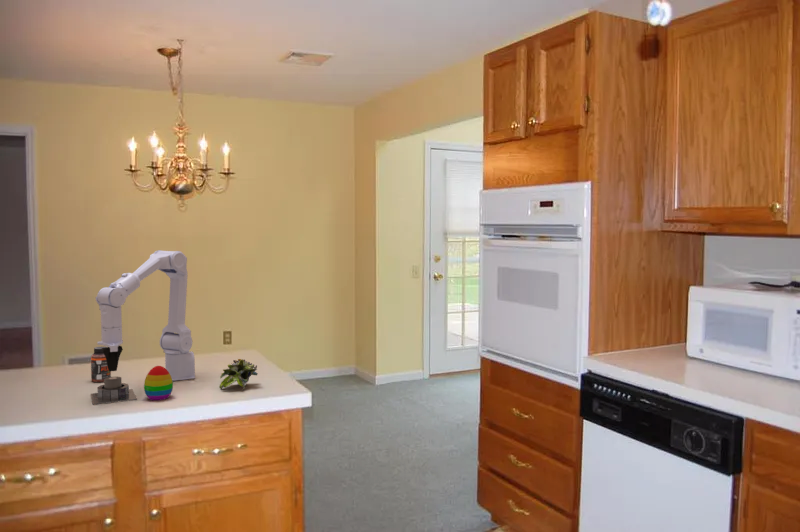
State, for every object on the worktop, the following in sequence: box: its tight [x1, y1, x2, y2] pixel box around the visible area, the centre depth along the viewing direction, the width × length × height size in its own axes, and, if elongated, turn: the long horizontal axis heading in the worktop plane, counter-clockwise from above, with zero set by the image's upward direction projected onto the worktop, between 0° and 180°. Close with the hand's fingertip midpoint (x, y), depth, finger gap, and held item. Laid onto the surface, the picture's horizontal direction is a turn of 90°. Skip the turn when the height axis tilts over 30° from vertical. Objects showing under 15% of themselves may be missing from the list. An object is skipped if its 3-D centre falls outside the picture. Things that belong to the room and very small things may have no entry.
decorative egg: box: [143, 365, 174, 401], centre depth 191 cm, size 8×8×10 cm
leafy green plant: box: [218, 358, 259, 391], centre depth 203 cm, size 11×11×12 cm
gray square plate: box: [90, 382, 138, 406], centre depth 192 cm, size 12×12×3 cm
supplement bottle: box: [90, 346, 112, 383], centre depth 211 cm, size 6×6×11 cm
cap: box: [103, 376, 123, 389], centre depth 192 cm, size 5×5×6 cm
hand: (112, 370), depth 192 cm, fingers closed
